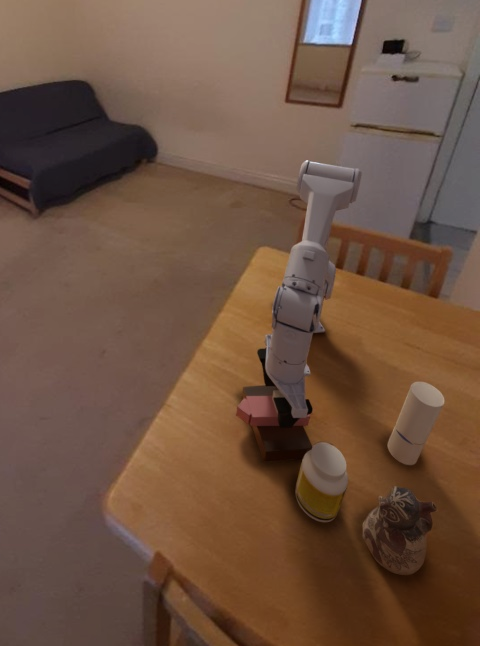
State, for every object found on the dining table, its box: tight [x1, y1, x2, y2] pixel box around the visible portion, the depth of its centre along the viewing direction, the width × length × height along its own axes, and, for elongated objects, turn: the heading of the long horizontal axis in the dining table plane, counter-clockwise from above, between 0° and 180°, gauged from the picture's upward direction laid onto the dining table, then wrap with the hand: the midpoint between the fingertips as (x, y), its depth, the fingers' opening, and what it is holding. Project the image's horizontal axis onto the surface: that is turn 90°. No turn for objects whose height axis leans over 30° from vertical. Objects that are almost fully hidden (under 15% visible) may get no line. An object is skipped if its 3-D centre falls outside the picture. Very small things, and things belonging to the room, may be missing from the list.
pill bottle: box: [294, 441, 349, 523], centre depth 61 cm, size 6×6×11 cm
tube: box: [387, 380, 445, 466], centre depth 66 cm, size 4×4×15 cm
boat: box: [235, 390, 311, 427], centre depth 72 cm, size 12×4×5 cm, turn 89°
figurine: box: [362, 485, 438, 576], centre depth 55 cm, size 7×7×12 cm
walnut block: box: [241, 384, 313, 463], centre depth 73 cm, size 12×8×3 cm, turn 3°
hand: (277, 404), depth 71 cm, fingers open, 7 cm apart
